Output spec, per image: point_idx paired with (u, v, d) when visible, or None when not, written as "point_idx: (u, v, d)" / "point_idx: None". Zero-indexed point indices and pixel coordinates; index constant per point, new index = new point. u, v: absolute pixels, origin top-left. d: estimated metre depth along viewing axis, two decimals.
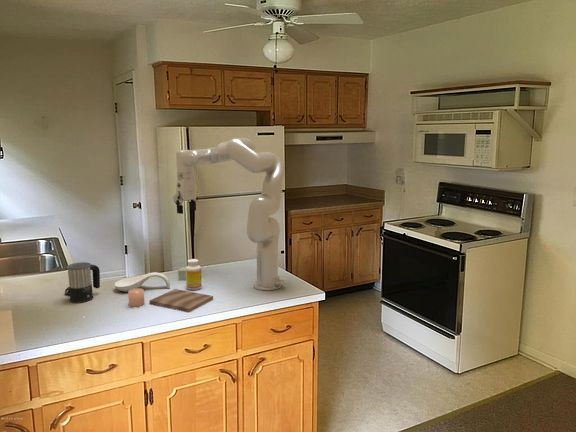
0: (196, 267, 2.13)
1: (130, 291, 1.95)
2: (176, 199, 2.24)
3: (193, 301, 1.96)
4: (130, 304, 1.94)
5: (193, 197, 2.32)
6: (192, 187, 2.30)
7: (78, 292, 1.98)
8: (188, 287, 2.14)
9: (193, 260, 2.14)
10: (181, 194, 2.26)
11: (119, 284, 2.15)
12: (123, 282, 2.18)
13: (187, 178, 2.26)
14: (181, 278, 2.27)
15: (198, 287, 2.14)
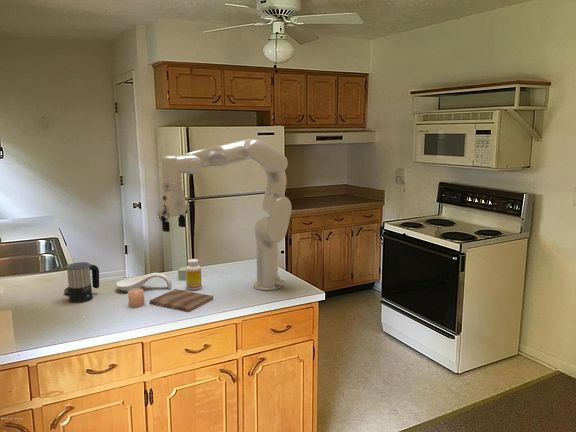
0: (196, 267, 2.13)
1: (130, 291, 1.95)
2: (161, 215, 1.88)
3: (193, 301, 1.96)
4: (130, 304, 1.94)
5: (182, 212, 1.95)
6: (181, 200, 1.94)
7: (77, 292, 1.98)
8: (188, 287, 2.14)
9: (193, 260, 2.14)
10: (167, 209, 1.89)
11: (121, 284, 2.16)
12: (125, 282, 2.18)
13: (174, 189, 1.90)
14: (181, 278, 2.27)
15: (198, 287, 2.14)
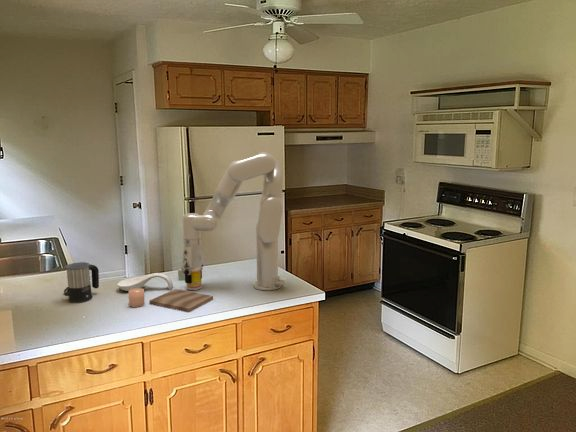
0: (196, 267, 2.13)
1: (131, 291, 1.95)
2: (184, 269, 2.09)
3: (193, 301, 1.96)
4: (131, 303, 1.94)
5: (201, 263, 2.15)
6: (200, 253, 2.14)
7: (77, 292, 1.98)
8: (188, 287, 2.14)
9: None
10: (188, 264, 2.09)
11: (123, 283, 2.16)
12: (127, 282, 2.18)
13: (194, 245, 2.10)
14: (181, 278, 2.27)
15: (198, 287, 2.14)
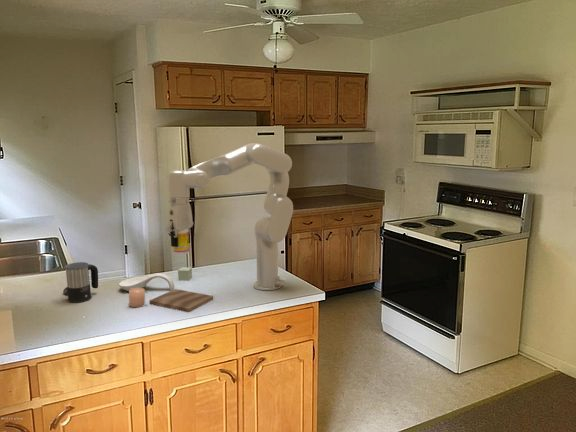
0: None
1: (132, 291, 1.94)
2: (170, 231, 1.90)
3: (193, 301, 1.96)
4: (133, 304, 1.93)
5: (188, 226, 1.97)
6: (187, 214, 1.95)
7: (76, 292, 1.98)
8: (174, 251, 1.95)
9: None
10: (174, 225, 1.91)
11: (125, 283, 2.17)
12: (129, 281, 2.19)
13: (181, 204, 1.91)
14: (181, 278, 2.27)
15: (185, 251, 1.96)
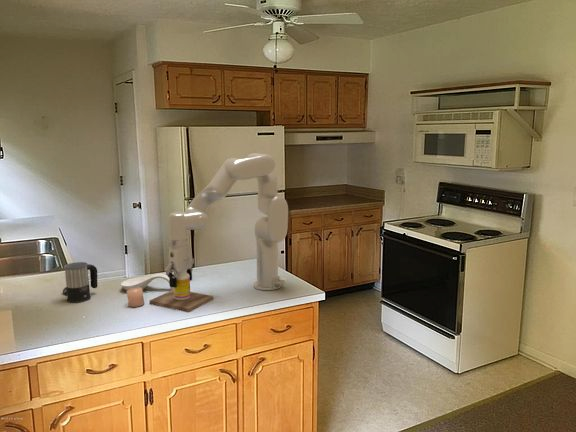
0: (184, 275, 1.96)
1: (133, 291, 1.93)
2: (168, 272, 1.90)
3: (193, 301, 1.96)
4: (139, 303, 1.94)
5: (189, 267, 1.98)
6: (188, 255, 1.97)
7: (75, 292, 1.98)
8: (176, 297, 1.97)
9: None
10: (174, 265, 1.92)
11: (127, 283, 2.17)
12: (132, 281, 2.19)
13: (182, 246, 1.92)
14: None
15: (186, 297, 1.98)
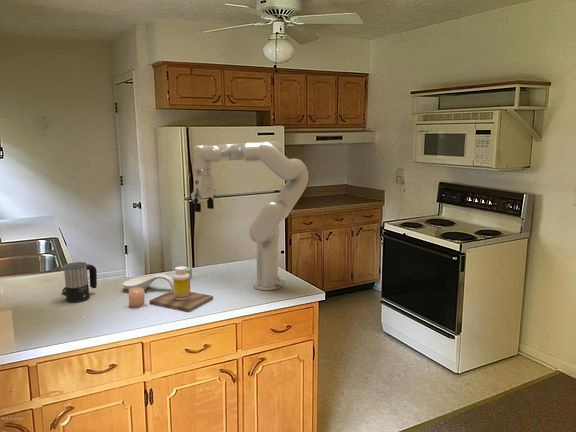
0: (184, 275, 1.96)
1: (141, 291, 1.94)
2: (194, 197, 2.14)
3: (193, 301, 1.96)
4: None
5: (211, 195, 2.21)
6: (210, 184, 2.20)
7: (74, 292, 1.98)
8: (176, 297, 1.97)
9: (181, 268, 1.98)
10: (199, 191, 2.15)
11: (129, 283, 2.17)
12: (134, 281, 2.19)
13: (205, 175, 2.16)
14: None
15: (186, 297, 1.98)
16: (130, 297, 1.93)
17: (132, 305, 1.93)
